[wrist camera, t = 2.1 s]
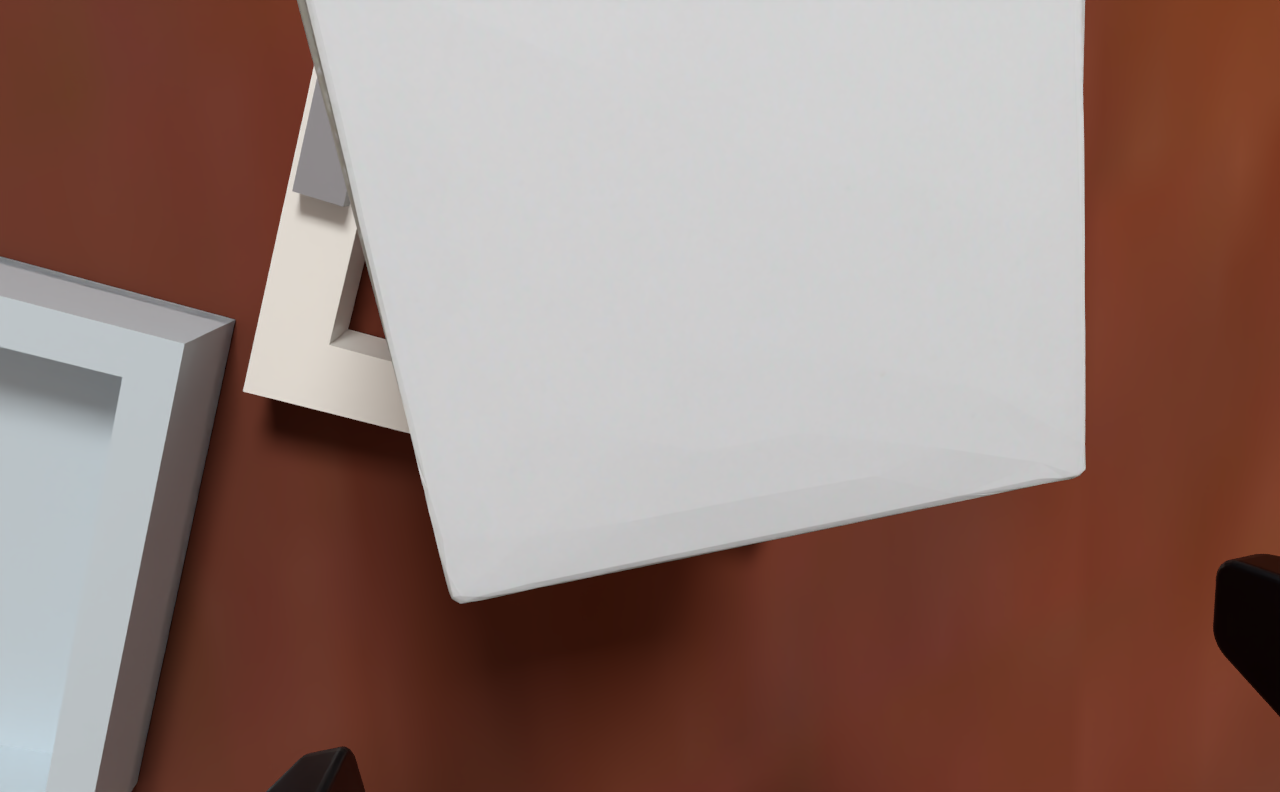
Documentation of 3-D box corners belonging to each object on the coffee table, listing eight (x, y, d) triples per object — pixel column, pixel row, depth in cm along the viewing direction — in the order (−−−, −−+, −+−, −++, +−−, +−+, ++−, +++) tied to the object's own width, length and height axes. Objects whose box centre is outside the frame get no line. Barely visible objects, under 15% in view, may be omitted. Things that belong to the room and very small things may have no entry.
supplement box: (483, 363, 20) (420, 628, 8) (420, 44, 18) (216, -223, 6) (770, 315, 21) (1103, 496, 9) (740, 4, 19) (1113, -308, 7)
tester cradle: (944, 7, 20) (1005, -18, 17) (765, 499, 22) (795, 538, 20) (401, -215, 17) (381, -283, 15) (270, 371, 20) (233, 398, 17)
